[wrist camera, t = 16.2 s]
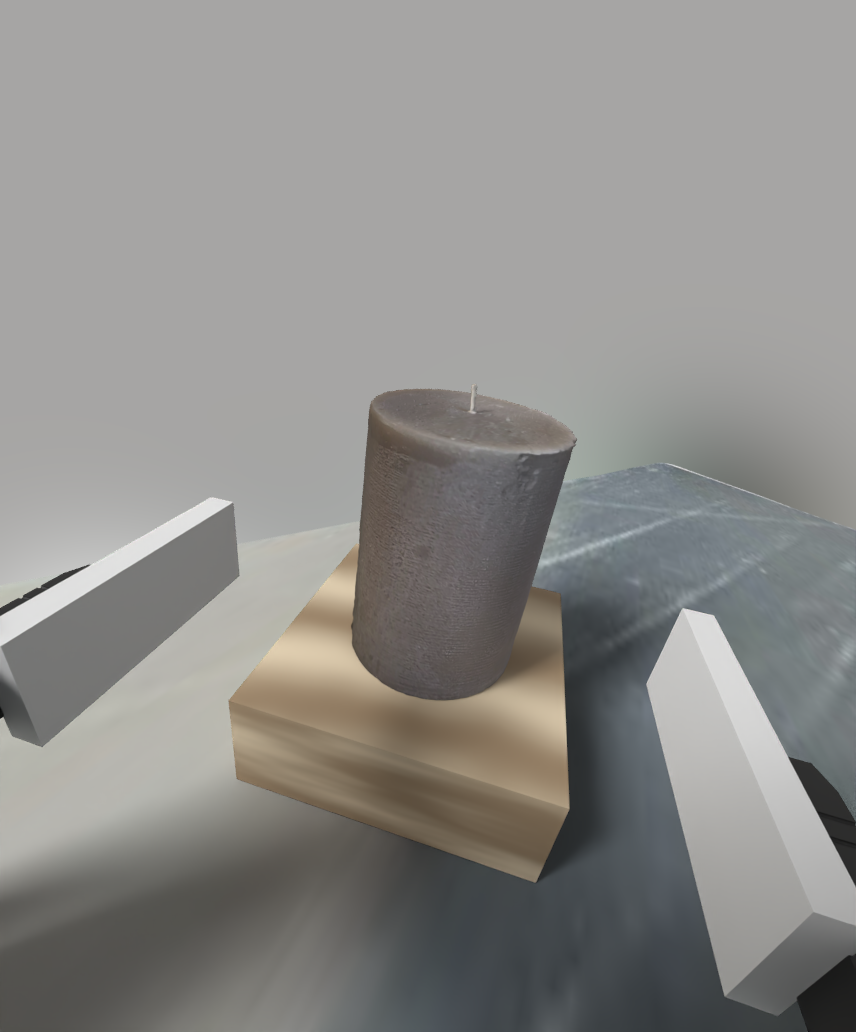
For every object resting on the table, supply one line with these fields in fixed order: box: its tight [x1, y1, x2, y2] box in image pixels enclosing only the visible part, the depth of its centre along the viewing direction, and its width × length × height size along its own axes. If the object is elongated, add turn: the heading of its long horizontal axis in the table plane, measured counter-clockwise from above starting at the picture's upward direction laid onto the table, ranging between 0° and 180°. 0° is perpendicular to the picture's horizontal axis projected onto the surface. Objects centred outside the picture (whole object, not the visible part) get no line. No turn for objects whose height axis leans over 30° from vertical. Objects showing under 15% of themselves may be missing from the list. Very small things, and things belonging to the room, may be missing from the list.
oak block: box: [229, 544, 569, 883], centre depth 28 cm, size 16×16×6 cm
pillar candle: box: [351, 384, 577, 700], centre depth 24 cm, size 10×10×15 cm
